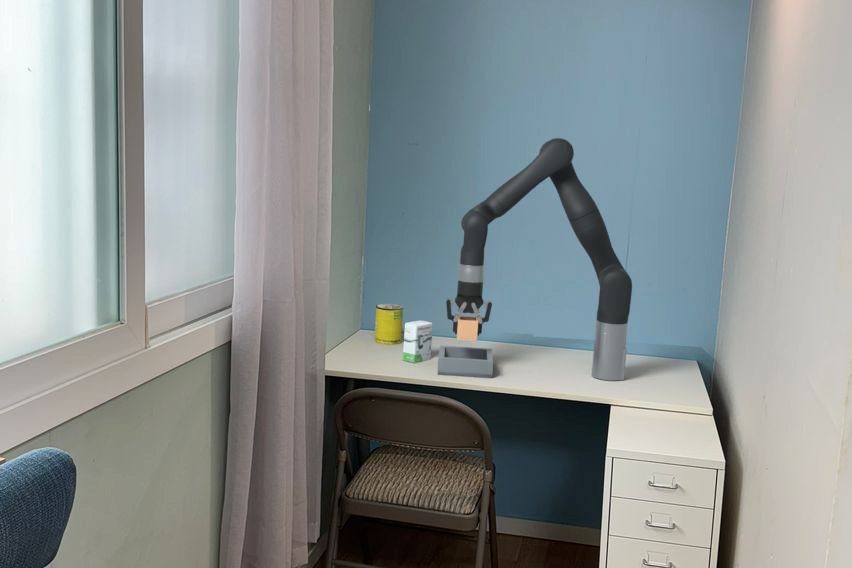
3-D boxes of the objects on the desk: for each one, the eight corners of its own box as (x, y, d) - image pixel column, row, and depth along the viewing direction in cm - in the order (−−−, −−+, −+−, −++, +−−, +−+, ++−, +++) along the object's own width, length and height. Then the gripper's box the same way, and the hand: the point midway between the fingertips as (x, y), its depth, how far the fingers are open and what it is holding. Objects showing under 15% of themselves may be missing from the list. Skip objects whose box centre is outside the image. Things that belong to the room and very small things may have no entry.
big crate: (490, 364, 278) (491, 348, 277) (492, 378, 262) (493, 361, 261) (439, 361, 278) (440, 345, 278) (437, 374, 263) (438, 358, 262)
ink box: (414, 363, 274) (416, 326, 272) (401, 360, 277) (403, 323, 275) (431, 359, 281) (433, 322, 279) (419, 356, 284) (421, 319, 282)
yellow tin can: (401, 339, 305) (403, 304, 303) (401, 345, 296) (402, 309, 295) (375, 337, 305) (376, 303, 303) (373, 343, 296) (375, 308, 294)
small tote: (476, 336, 272) (478, 317, 271) (476, 341, 266) (478, 321, 265) (456, 335, 272) (458, 315, 271) (456, 339, 266) (457, 319, 265)
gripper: (494, 278, 269) (490, 333, 272) (446, 275, 270) (443, 330, 273) (495, 282, 262) (491, 338, 265) (446, 279, 262) (442, 335, 265)
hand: (466, 334), depth 269 cm, fingers closed on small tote, 6 cm apart
